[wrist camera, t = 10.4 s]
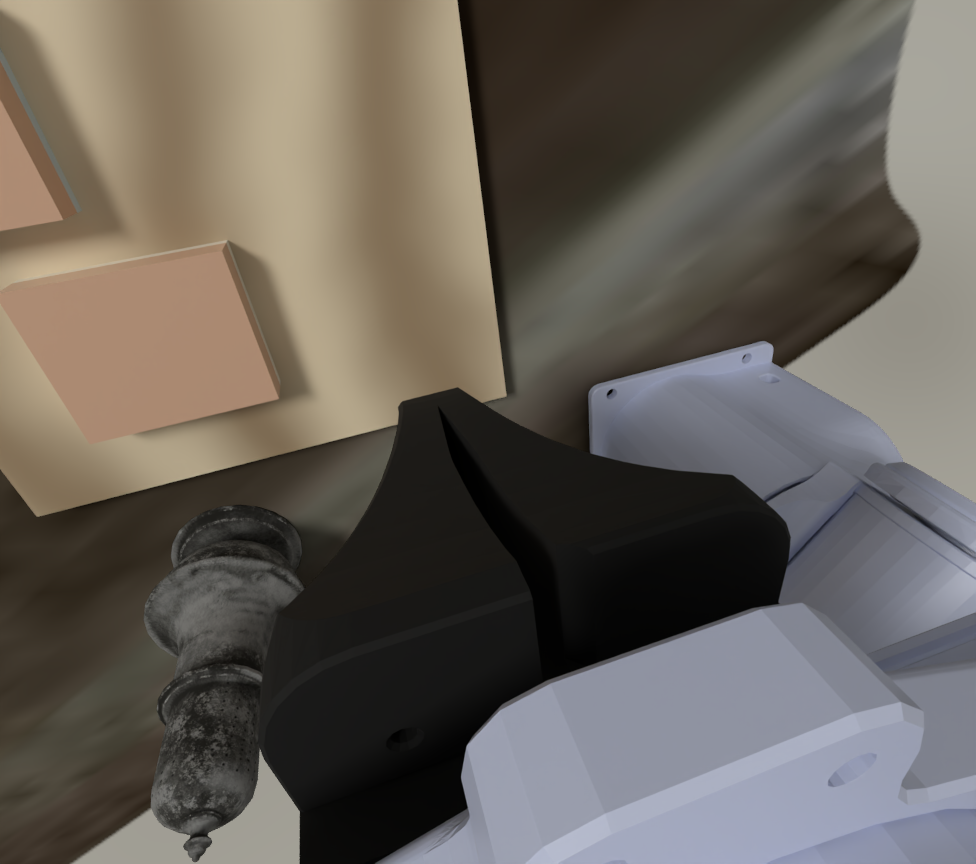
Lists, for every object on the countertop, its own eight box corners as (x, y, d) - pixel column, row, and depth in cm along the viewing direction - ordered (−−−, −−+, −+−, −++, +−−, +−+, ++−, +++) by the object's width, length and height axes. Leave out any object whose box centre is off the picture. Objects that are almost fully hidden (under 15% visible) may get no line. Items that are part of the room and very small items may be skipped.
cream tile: (221, 250, 16) (-6, 294, 15) (279, 399, 19) (89, 444, 18) (227, 239, 17) (18, 279, 16) (280, 380, 20) (103, 422, 19)
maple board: (432, -125, 15) (440, -138, 14) (499, 386, 24) (506, 396, 23) (-363, -55, 12) (-411, -67, 11) (47, 500, 21) (36, 516, 20)
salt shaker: (312, 499, 24) (319, 777, 14) (305, 597, 27) (306, 889, 17) (159, 499, 22) (42, 823, 12) (167, 605, 25) (77, 941, 15)
